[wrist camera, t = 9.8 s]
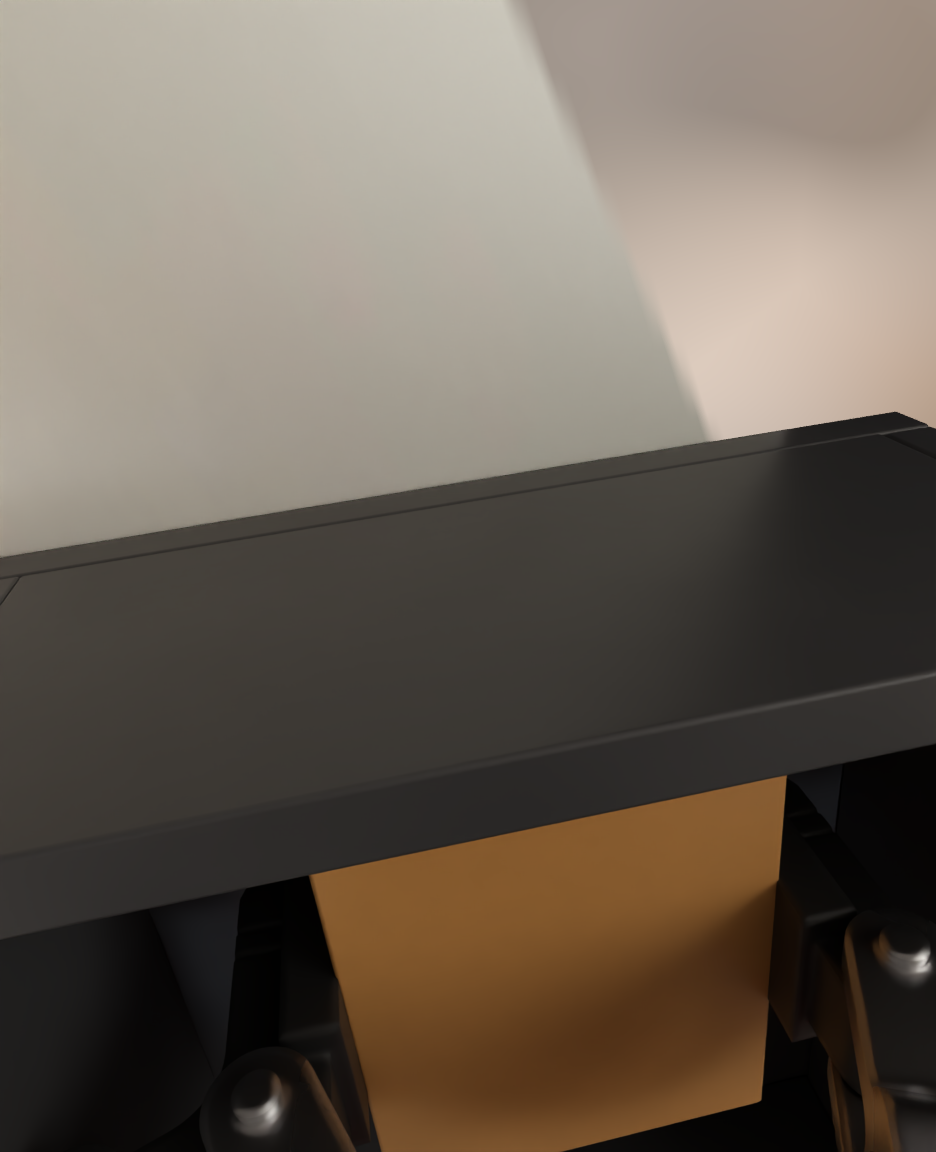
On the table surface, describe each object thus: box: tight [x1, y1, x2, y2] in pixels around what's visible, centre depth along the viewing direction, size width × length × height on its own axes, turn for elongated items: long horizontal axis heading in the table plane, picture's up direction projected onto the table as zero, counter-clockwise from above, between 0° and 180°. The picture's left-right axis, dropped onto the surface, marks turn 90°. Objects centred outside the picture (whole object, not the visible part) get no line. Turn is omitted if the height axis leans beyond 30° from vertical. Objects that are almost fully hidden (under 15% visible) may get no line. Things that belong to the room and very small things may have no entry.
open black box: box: [0, 412, 936, 1152], centre depth 13 cm, size 16×14×6 cm
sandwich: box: [309, 775, 787, 1152], centre depth 12 cm, size 7×6×4 cm
